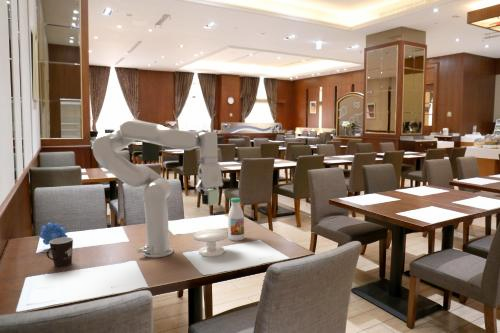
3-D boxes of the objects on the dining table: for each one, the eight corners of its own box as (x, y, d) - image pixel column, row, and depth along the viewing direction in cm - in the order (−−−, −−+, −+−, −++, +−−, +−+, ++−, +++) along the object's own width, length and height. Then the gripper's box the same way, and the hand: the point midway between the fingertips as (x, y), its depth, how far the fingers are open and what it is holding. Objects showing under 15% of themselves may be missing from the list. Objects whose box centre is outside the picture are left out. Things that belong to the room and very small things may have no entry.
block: (209, 205, 162) (209, 191, 162) (202, 203, 166) (201, 190, 165) (218, 203, 166) (218, 189, 165) (211, 202, 169) (210, 188, 169)
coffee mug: (68, 258, 163) (66, 236, 162) (78, 263, 158) (76, 239, 157) (39, 267, 154) (37, 243, 153) (49, 272, 149) (47, 247, 148)
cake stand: (209, 261, 158) (208, 241, 157) (187, 253, 168) (186, 234, 167) (235, 252, 169) (235, 233, 168) (213, 244, 179) (212, 227, 178)
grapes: (40, 252, 173) (38, 226, 171) (40, 248, 178) (38, 222, 177) (69, 247, 178) (67, 222, 177) (67, 243, 184) (66, 219, 183)
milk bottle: (225, 239, 186) (224, 199, 184) (233, 235, 193) (232, 196, 190) (239, 241, 182) (238, 200, 180) (247, 237, 189) (246, 197, 187)
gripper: (198, 163, 155) (200, 207, 157) (229, 159, 167) (230, 200, 169) (187, 162, 160) (189, 204, 162) (218, 158, 172) (219, 198, 175)
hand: (210, 202), depth 166 cm, fingers closed on block, 5 cm apart
